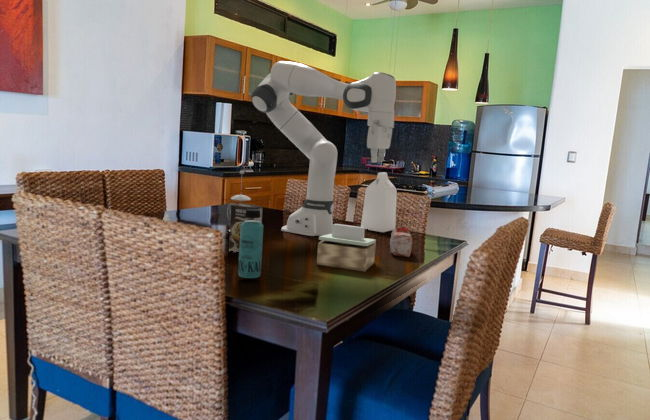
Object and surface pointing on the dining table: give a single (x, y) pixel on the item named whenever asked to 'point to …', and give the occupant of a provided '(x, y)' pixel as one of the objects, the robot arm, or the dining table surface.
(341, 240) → the lid
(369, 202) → the milk
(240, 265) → the beverage bottle
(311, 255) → the dining table surface
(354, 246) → the box
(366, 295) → the dining table surface
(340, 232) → the white rectangular block
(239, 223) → the coffee box
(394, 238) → the food item
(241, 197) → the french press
